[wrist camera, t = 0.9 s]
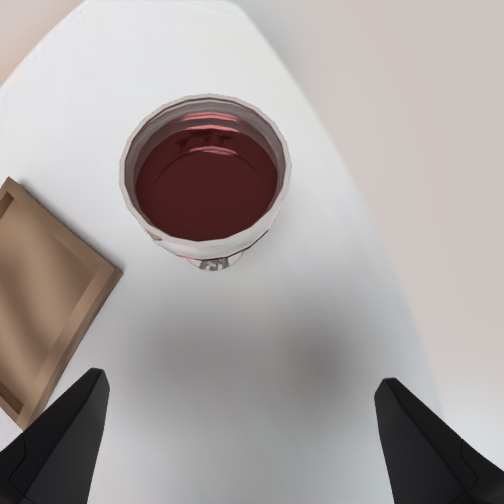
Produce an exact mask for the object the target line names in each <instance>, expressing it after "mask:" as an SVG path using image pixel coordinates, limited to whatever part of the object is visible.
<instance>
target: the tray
mask: <svg viewBox="0 0 504 504" xmlns="http://www.w3.org/2000/svg"><path fill="white" fill-rule="evenodd" d="M122 274H123V273H122V272H121V271H120V270H118V269H117V268H116V267H114V266H113V265H112V264H111V263H109V262H108V261H107V260H106V259H104V258H103V257H102V256H101V255H99V254H98V253H97V252H96V251H94V250H93V249H92V248H91V247H90V246H88V245H87V244H86V243H85V242H83V241H82V240H81V239H80V238H79V237H77V236H76V235H75V234H74V233H73V232H72V231H70V230H69V229H68V228H67V227H66V226H65V225H63V224H62V223H61V222H60V221H59V220H58V219H57V218H55V217H54V216H53V215H52V214H51V213H50V212H49V211H48V210H46V209H45V208H44V207H43V206H42V205H41V204H40V203H39V202H38V201H37V200H35V199H34V198H33V197H32V196H31V195H30V194H29V193H28V192H27V191H26V190H25V189H24V188H23V187H22V186H21V185H19V184H18V183H17V182H15V181H14V180H13V179H11V178H10V177H9V176H8V178H7V179H6V181H5V182H4V184H3V185H2V187H1V188H0V407H1V408H2V409H3V410H4V411H5V413H6V414H7V415H8V416H9V417H10V418H11V419H12V420H13V421H14V422H15V423H16V424H17V425H18V426H19V427H20V428H21V429H22V430H23V431H24V430H25V429H26V428H27V427H28V426H29V425H30V424H31V423H32V422H34V421H35V420H36V419H37V418H38V417H39V416H40V415H41V414H42V412H43V410H44V408H45V406H46V404H47V402H48V400H49V398H50V396H51V394H52V392H53V390H54V388H55V386H56V385H57V383H58V381H59V379H60V377H61V375H62V373H63V372H64V370H65V368H66V366H67V364H68V363H69V361H70V359H71V357H72V355H73V354H74V352H75V350H76V348H77V347H78V345H79V343H80V342H81V340H82V338H83V336H84V335H85V333H86V331H87V330H88V328H89V326H90V325H91V323H92V321H93V320H94V318H95V317H96V315H97V313H98V312H99V310H100V309H101V307H102V305H103V304H104V302H105V301H106V299H107V297H108V296H109V294H110V293H111V291H112V290H113V288H114V287H115V285H116V284H117V282H118V281H119V279H120V277H121V276H122Z"/></svg>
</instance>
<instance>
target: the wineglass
mask: <svg viewBox="0 0 504 504" xmlns="http://www.w3.org/2000/svg"><path fill="white" fill-rule="evenodd" d="M291 167H292V164H291V159H290V155H289V150H288V145H287V142H286V140H285V138H284V137H283V135H282V133H281V132H280V130H279V128H278V127H277V125H276V124H275V122H274V121H273V120H271V119H270V118H269V117H268V116H267V115H266V114H265V113H263V112H262V111H261V110H260V109H259V108H257V107H256V106H254V105H251V104H249V103H247V102H245V101H242V100H240V99H238V98H236V97H231V96H225V95H218V94H211V93H210V94H200V95H191V96H185V97H182V98H180V99H177V100H174V101H172V102H169V103H166V104H164V105H162V106H161V107H159V108H158V109H156V110H155V111H154V112H152V113H151V114H149V115H148V116H147V117H145V118H144V119H143V120H142V121H141V122H140V124H139V125H138V126H137V127H136V129H135V130H134V131H133V133H132V134H131V135H130V137H129V138H128V140H127V143H126V145H125V148H124V150H123V153H122V156H121V159H120V167H119V186H120V189H121V192H122V195H123V198H124V201H125V203H126V206H127V209H128V210H129V211H130V212H131V213H132V215H133V216H134V217H135V218H136V219H137V221H138V223H139V225H140V226H141V227H142V228H143V229H144V231H145V232H146V233H147V234H148V235H149V237H150V238H151V239H152V240H153V241H154V242H155V243H157V244H158V245H159V246H161V247H163V248H165V249H166V250H168V251H170V252H172V253H173V254H175V255H177V256H179V257H184V258H187V259H188V260H189V262H190V263H191V264H193V265H195V266H197V267H198V268H200V269H205V270H210V271H214V270H222V269H224V268H226V267H228V266H231V265H232V264H233V263H235V262H236V261H237V260H238V259H239V258H240V256H241V255H242V253H243V251H244V250H246V249H248V248H250V247H251V246H252V245H254V244H255V243H256V242H257V241H258V240H259V239H260V238H261V237H262V236H263V235H264V234H265V233H266V232H268V230H269V228H270V226H271V224H272V222H273V221H274V219H275V217H276V215H277V213H278V211H279V210H280V207H281V202H282V200H283V198H284V197H285V195H286V193H287V191H288V188H289V181H290V174H291Z"/></svg>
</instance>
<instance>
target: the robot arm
mask: <svg viewBox="0 0 504 504" xmlns="http://www.w3.org/2000/svg"><path fill="white" fill-rule="evenodd" d="M109 392H110V387H109V383H108V380H107V377H106V374H105V372H104V370H103V369H98V368H91V369H89V370H88V371H87V372H86V373H85V374H84V375H83V376H82V377H80V378H79V379H78V380H77V381H76V382H75V383H74V384H73V385H72V386H71V387H70V388H69V389H68V390H66V391H65V392H64V393H63V394H62V395H61V396H60V397H59V398H58V399H57V400H56V401H55V402H54V403H53V404H52V405H50V406H49V407H48V408H47V409H46V410H45V411H44V412H43V413H42V414H41V415H40V416H39V417H38V418H37V419H36V420H35V421H34V422H32V423H31V424H30V425H29V426H28V427H27V428H26V429H25V430H24V431H23V433H21V434H20V435H19V436H18V437H17V438H16V439H15V440H13V441H12V442H11V443H10V444H9V445H8V446H7V447H6V448H5V449H3V450H2V451H1V452H0V504H87V501H88V496H89V491H90V486H91V482H92V477H93V473H94V468H95V464H96V460H97V455H98V451H99V447H100V443H101V439H102V435H103V431H104V425H105V418H106V411H107V404H108V398H109ZM374 400H375V407H376V414H377V422H378V429H379V436H380V440H381V445H382V449H383V453H384V457H385V462H386V466H387V470H388V475H389V479H390V484H391V489H392V494H393V498H394V503H395V504H504V471H503V470H501V469H500V468H499V467H497V466H496V465H494V464H493V463H492V462H490V461H489V460H487V459H486V458H485V457H483V456H482V455H481V454H480V453H478V452H477V451H476V450H475V449H474V448H472V447H471V446H470V445H469V444H468V443H467V442H466V441H464V440H463V439H461V437H460V436H459V435H458V434H457V433H456V432H454V431H453V430H452V429H451V428H450V427H449V426H448V425H447V424H446V423H445V422H444V421H442V420H441V419H440V418H439V417H438V416H437V415H436V414H435V413H434V412H433V411H431V410H430V409H429V408H428V407H427V406H426V405H425V404H424V403H423V402H422V401H420V400H419V399H418V398H417V397H416V396H415V395H414V394H413V393H412V392H410V391H409V390H408V389H407V388H406V387H405V386H404V385H403V384H402V383H401V382H399V381H398V380H397V379H396V378H393V377H392V378H384V379H383V380H382V382H381V383H380V385H379V387H378V389H377V390H376V392H375V396H374Z"/></svg>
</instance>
